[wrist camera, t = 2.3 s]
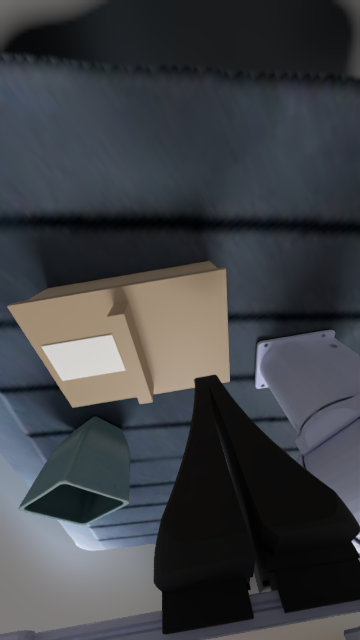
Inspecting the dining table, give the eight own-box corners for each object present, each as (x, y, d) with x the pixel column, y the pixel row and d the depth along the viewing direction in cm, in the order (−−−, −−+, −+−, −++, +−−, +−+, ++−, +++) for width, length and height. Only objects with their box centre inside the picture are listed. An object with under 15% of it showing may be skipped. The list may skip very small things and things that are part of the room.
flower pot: (104, 451, 32) (84, 527, 24) (56, 430, 29) (14, 511, 21) (139, 428, 30) (130, 503, 22) (92, 401, 26) (61, 480, 18)
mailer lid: (223, 267, 14) (234, 276, 12) (228, 377, 20) (236, 398, 18) (12, 303, 15) (-16, 318, 12) (75, 402, 20) (63, 426, 18)
